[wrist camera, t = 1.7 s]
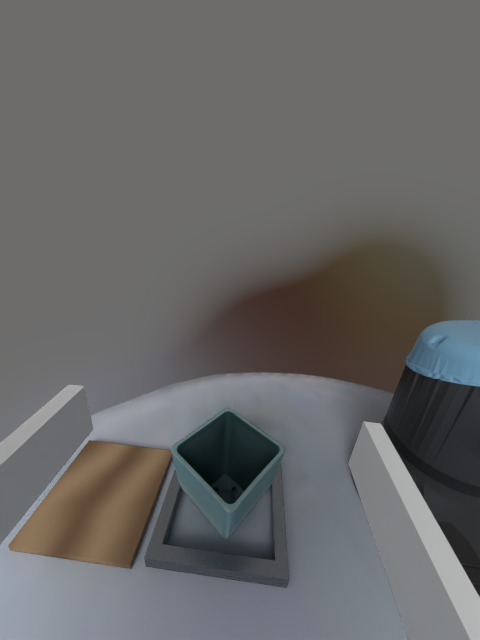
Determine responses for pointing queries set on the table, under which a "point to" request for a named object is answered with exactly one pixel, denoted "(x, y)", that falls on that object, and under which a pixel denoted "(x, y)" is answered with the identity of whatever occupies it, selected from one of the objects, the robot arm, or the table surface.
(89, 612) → the table surface
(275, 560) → the metal collar
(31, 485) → the robot arm
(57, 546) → the walnut board
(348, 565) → the table surface
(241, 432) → the flower pot
